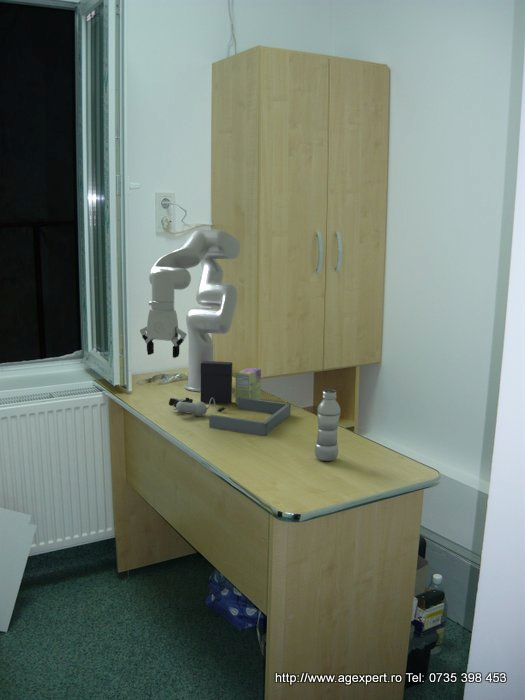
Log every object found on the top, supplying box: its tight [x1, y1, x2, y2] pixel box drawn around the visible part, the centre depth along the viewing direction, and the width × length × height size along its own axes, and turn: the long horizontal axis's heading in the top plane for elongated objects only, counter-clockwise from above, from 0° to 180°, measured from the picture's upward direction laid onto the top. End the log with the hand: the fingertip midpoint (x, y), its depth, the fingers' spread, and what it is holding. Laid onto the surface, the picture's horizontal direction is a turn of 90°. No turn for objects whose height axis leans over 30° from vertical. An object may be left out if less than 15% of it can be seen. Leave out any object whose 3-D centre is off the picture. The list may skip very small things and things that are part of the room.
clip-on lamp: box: [168, 397, 227, 418], centre depth 231 cm, size 12×6×18 cm
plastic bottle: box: [314, 389, 342, 462], centre depth 189 cm, size 6×7×20 cm
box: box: [234, 367, 262, 405], centre depth 246 cm, size 10×6×12 cm, turn 156°
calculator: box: [199, 360, 233, 405], centre depth 243 cm, size 11×4×15 cm, turn 84°
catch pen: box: [208, 397, 292, 437], centre depth 224 cm, size 24×19×4 cm
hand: (163, 355), depth 232 cm, fingers open, 9 cm apart
